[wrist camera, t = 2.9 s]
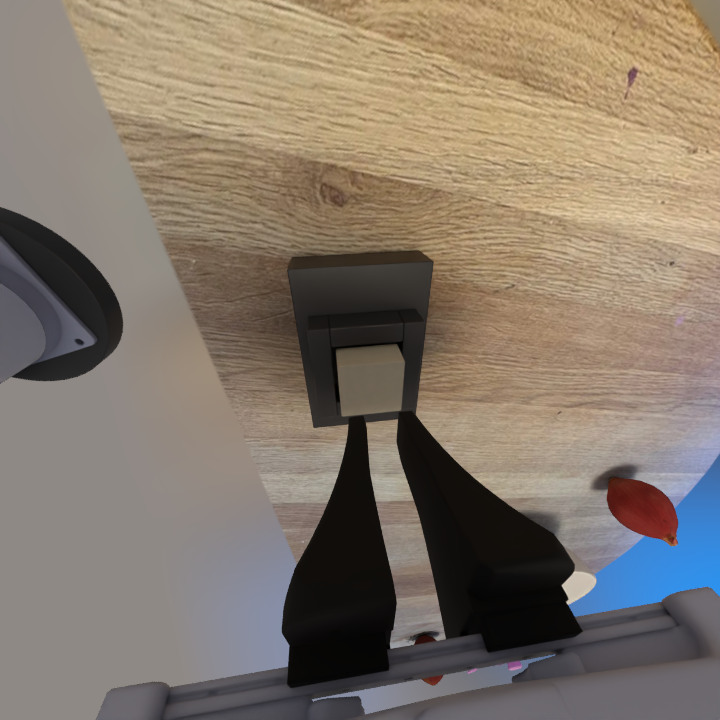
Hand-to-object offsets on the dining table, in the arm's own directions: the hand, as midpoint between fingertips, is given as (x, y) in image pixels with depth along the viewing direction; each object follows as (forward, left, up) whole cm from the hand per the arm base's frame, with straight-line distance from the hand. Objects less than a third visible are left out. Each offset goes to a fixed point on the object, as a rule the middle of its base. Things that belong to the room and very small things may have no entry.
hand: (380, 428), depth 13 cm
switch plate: (0, 0, -9) cm, 9 cm away
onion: (+26, -31, -9) cm, 41 cm away
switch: (0, 0, -5) cm, 5 cm away
